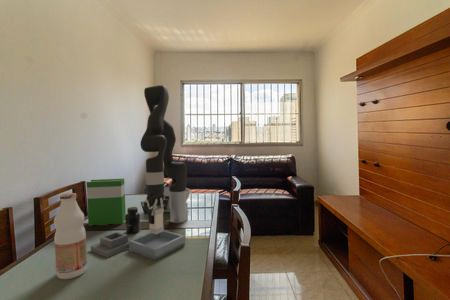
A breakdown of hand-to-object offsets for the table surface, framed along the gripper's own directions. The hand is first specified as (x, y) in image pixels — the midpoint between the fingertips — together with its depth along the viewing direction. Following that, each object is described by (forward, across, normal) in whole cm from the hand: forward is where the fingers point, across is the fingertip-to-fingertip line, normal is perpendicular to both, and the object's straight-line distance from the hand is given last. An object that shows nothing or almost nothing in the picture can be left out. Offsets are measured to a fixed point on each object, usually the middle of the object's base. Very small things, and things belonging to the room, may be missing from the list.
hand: (156, 221), depth 108 cm
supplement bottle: (+11, -6, -25) cm, 28 cm away
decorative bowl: (+11, -44, -38) cm, 59 cm away
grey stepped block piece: (+11, +10, -16) cm, 22 cm away
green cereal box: (+11, -7, -49) cm, 51 cm away
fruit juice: (+12, +30, -10) cm, 33 cm away
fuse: (+4, 0, 0) cm, 4 cm away
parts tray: (+11, 0, 0) cm, 11 cm away
